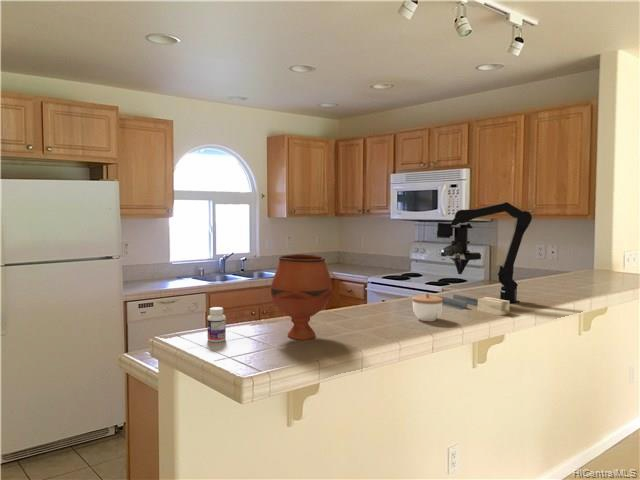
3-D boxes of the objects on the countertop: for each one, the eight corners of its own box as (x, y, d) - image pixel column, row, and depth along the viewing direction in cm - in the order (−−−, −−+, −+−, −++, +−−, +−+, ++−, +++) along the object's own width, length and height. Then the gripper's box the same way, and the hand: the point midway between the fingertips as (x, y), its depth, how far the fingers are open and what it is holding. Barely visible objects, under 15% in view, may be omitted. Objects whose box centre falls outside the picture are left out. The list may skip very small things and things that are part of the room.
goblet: (282, 347, 147) (283, 260, 146) (262, 331, 165) (262, 254, 163) (342, 340, 155) (343, 258, 153) (317, 326, 172) (318, 252, 171)
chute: (460, 299, 224) (460, 293, 224) (487, 305, 210) (488, 299, 210) (432, 302, 217) (432, 296, 217) (459, 309, 203) (459, 303, 203)
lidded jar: (424, 323, 178) (425, 297, 177) (405, 317, 187) (406, 292, 186) (448, 320, 183) (449, 294, 182) (429, 315, 192) (429, 290, 191)
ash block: (486, 309, 204) (486, 297, 204) (509, 313, 196) (509, 300, 196) (477, 311, 201) (477, 298, 200) (500, 315, 193) (500, 302, 192)
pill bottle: (208, 337, 157) (208, 306, 156) (226, 337, 157) (226, 306, 156) (206, 342, 151) (206, 310, 151) (224, 342, 152) (224, 310, 151)
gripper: (432, 237, 227) (431, 272, 228) (463, 240, 211) (462, 278, 212) (450, 237, 232) (449, 271, 233) (482, 239, 216) (481, 276, 217)
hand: (459, 274), depth 224 cm, fingers closed
